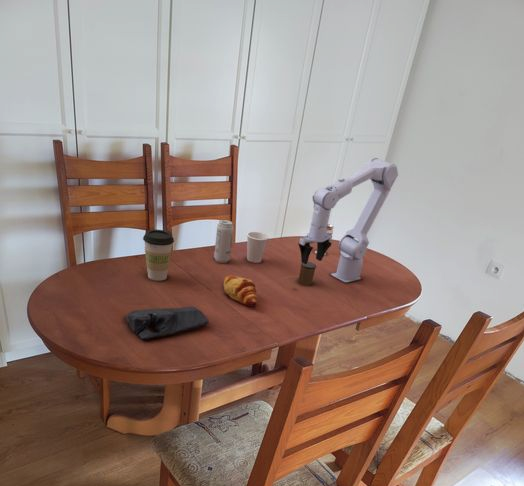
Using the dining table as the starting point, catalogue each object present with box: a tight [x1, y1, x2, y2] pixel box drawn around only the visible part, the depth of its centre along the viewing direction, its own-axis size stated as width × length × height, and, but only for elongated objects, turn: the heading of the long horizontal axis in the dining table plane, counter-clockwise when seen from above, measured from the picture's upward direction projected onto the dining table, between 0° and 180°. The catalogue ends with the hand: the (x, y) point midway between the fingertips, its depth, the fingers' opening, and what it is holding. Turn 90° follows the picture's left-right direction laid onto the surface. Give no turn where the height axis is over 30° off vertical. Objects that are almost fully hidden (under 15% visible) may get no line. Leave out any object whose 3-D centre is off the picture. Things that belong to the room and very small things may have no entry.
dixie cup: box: [246, 231, 269, 264], centre depth 184 cm, size 8×8×10 cm
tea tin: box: [297, 261, 317, 286], centre depth 174 cm, size 6×6×7 cm
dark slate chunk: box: [125, 305, 209, 341], centre depth 134 cm, size 15×22×5 cm
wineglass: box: [314, 223, 335, 256], centre depth 202 cm, size 7×7×12 cm
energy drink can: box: [213, 219, 234, 264], centre depth 177 cm, size 6×6×15 cm
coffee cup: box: [142, 229, 175, 282], centre depth 157 cm, size 10×10×15 cm
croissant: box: [223, 274, 258, 307], centre depth 156 cm, size 21×10×8 cm, turn 30°
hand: (311, 261), depth 171 cm, fingers open, 7 cm apart
